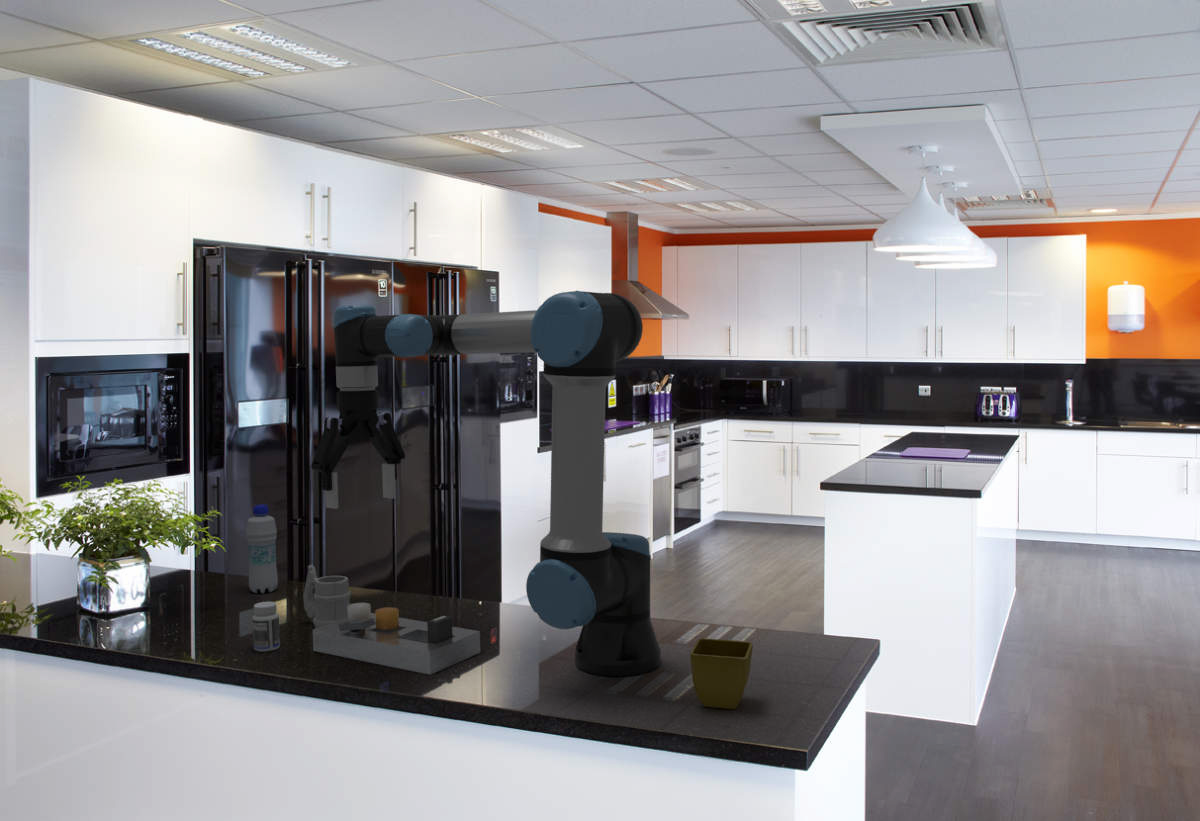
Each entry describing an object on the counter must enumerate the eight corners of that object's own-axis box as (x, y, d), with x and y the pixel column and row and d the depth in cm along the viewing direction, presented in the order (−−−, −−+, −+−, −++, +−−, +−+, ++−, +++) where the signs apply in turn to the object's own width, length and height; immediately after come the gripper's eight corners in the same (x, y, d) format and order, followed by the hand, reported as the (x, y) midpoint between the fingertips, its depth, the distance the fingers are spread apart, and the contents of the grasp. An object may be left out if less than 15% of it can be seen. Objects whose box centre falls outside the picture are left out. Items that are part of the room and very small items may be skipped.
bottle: (285, 589, 240) (282, 503, 239) (261, 596, 234) (258, 508, 233) (265, 586, 244) (262, 501, 242) (241, 592, 238) (238, 505, 237)
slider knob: (452, 645, 188) (452, 616, 188) (437, 651, 184) (436, 621, 184) (443, 643, 189) (442, 614, 189) (428, 650, 185) (427, 620, 185)
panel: (480, 652, 191) (479, 628, 191) (430, 674, 179) (429, 648, 179) (366, 631, 205) (365, 608, 205) (313, 650, 193) (312, 626, 193)
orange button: (403, 625, 194) (403, 609, 193) (388, 630, 190) (387, 614, 190) (386, 622, 196) (386, 606, 196) (371, 627, 192) (370, 611, 192)
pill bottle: (273, 642, 199) (271, 599, 198) (284, 648, 195) (282, 604, 195) (249, 648, 196) (247, 604, 195) (259, 653, 192) (258, 608, 192)
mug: (332, 635, 203) (330, 574, 202) (290, 626, 210) (288, 567, 209) (361, 625, 210) (359, 567, 209) (319, 617, 216) (318, 560, 215)
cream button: (375, 620, 197) (375, 604, 197) (359, 625, 194) (359, 609, 193) (359, 617, 199) (358, 601, 199) (343, 622, 196) (342, 606, 196)
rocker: (375, 624, 190) (373, 618, 190) (363, 628, 187) (362, 622, 187) (351, 627, 193) (350, 620, 193) (339, 631, 191) (338, 624, 191)
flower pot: (753, 696, 167) (753, 641, 166) (747, 715, 158) (746, 657, 158) (698, 692, 169) (698, 637, 168) (689, 711, 161) (689, 653, 160)
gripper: (395, 385, 206) (398, 492, 207) (288, 392, 186) (293, 510, 187) (421, 386, 201) (424, 495, 203) (314, 393, 181) (319, 514, 183)
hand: (361, 502), depth 195 cm, fingers open, 13 cm apart
